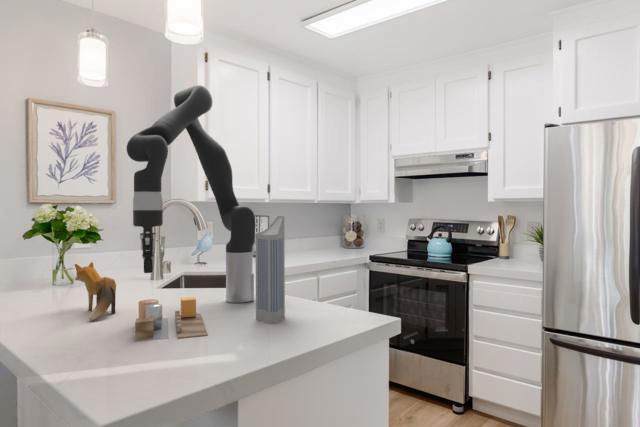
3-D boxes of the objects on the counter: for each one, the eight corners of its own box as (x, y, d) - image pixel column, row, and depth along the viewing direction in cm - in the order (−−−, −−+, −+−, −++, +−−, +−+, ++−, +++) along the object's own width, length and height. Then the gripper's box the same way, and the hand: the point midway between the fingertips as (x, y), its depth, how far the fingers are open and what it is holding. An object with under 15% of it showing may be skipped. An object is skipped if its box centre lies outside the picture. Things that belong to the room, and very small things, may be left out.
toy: (99, 304, 147) (99, 260, 147) (130, 320, 126) (129, 268, 126) (63, 309, 140) (62, 263, 140) (89, 327, 119) (88, 272, 119)
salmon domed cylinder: (158, 320, 121) (158, 298, 121) (158, 324, 116) (158, 302, 116) (139, 321, 119) (139, 300, 119) (138, 326, 115) (138, 303, 115)
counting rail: (174, 320, 125) (174, 309, 125) (200, 318, 128) (200, 307, 128) (177, 343, 104) (177, 329, 104) (207, 340, 106) (207, 327, 106)
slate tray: (168, 322, 124) (167, 317, 124) (168, 343, 104) (168, 338, 104) (137, 324, 121) (137, 320, 121) (132, 346, 101) (132, 341, 101)
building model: (289, 317, 128) (289, 216, 128) (275, 324, 121) (274, 216, 121) (265, 315, 132) (265, 216, 132) (250, 321, 124) (249, 216, 124)
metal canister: (162, 325, 115) (162, 303, 115) (162, 329, 112) (162, 306, 112) (146, 327, 114) (145, 304, 114) (145, 331, 110) (145, 307, 110)
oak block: (153, 333, 109) (153, 317, 109) (153, 337, 105) (153, 320, 105) (136, 334, 107) (136, 318, 107) (135, 339, 103) (135, 322, 103)
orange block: (180, 314, 126) (180, 297, 125) (195, 313, 127) (195, 296, 127) (181, 317, 122) (181, 300, 122) (196, 316, 123) (196, 299, 123)
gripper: (162, 208, 113) (162, 275, 114) (162, 208, 126) (163, 268, 127) (131, 208, 111) (131, 276, 111) (134, 208, 124) (135, 269, 124)
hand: (148, 271), depth 119 cm, fingers closed
